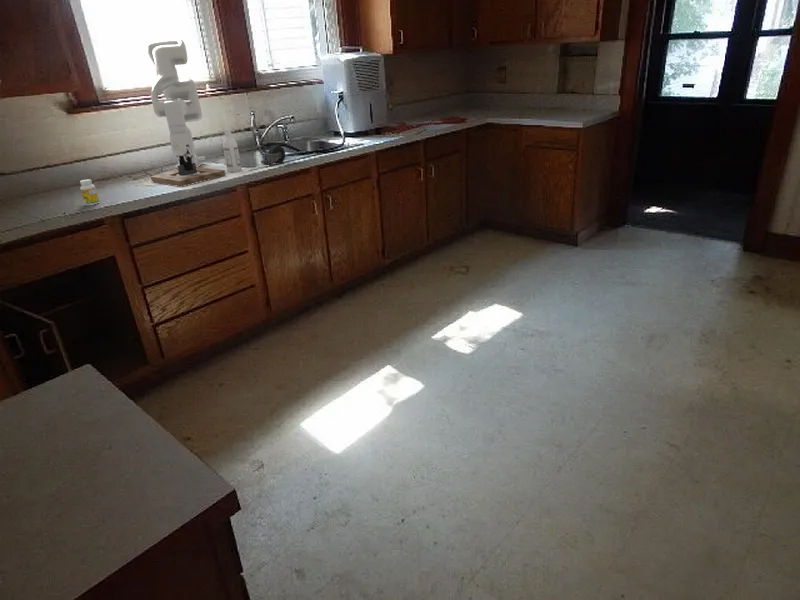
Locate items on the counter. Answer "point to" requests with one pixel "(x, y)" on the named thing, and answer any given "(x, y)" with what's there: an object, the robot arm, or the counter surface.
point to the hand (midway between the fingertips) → (187, 169)
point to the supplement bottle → (89, 192)
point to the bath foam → (231, 152)
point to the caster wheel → (274, 155)
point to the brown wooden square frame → (181, 181)
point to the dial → (184, 172)
